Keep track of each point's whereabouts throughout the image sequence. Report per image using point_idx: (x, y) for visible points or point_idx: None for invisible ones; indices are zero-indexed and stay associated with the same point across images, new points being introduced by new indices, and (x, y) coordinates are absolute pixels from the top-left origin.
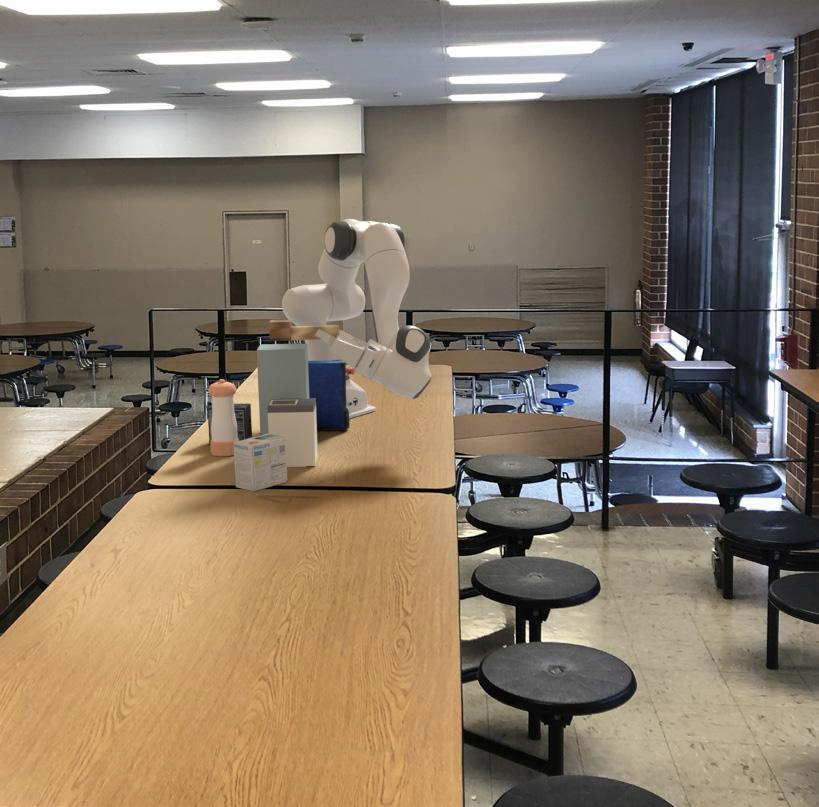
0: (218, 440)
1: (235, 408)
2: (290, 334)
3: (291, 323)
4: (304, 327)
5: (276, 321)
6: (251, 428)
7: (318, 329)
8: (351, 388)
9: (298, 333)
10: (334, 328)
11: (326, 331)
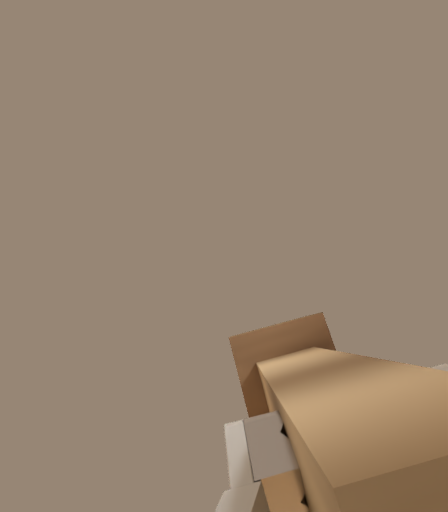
0: None
1: None
2: (245, 401)
3: (311, 333)
4: (262, 372)
5: (253, 330)
6: None
7: (254, 417)
8: None
9: (268, 403)
10: (320, 486)
11: (303, 472)
